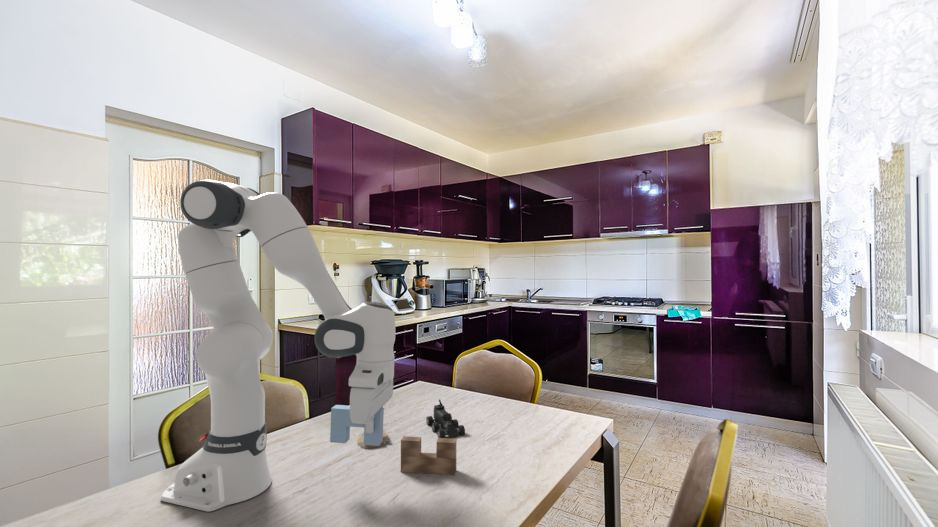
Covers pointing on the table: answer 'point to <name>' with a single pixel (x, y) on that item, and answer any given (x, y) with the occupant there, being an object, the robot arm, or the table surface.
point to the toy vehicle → (444, 423)
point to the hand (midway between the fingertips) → (372, 428)
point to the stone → (361, 443)
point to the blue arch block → (343, 424)
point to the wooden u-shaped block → (428, 456)
